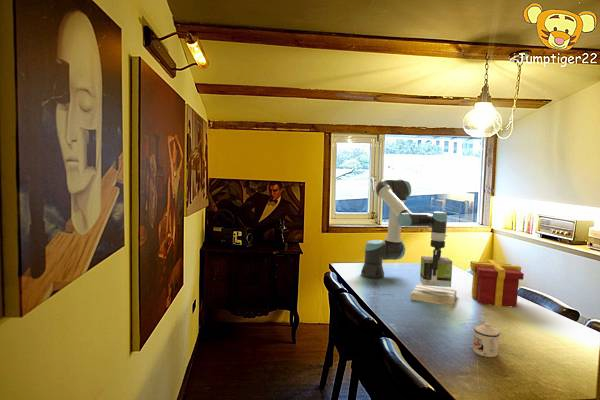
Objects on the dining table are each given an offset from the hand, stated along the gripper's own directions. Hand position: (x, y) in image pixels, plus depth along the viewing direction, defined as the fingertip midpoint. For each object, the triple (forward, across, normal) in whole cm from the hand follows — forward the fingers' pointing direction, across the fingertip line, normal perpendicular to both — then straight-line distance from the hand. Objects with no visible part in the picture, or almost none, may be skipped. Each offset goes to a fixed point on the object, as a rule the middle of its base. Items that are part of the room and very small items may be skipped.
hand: (435, 278), depth 224 cm
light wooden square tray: (+11, 0, 0) cm, 11 cm away
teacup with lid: (+11, -63, -27) cm, 69 cm away
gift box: (+11, +15, -30) cm, 35 cm away
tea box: (+3, 0, 0) cm, 3 cm away
